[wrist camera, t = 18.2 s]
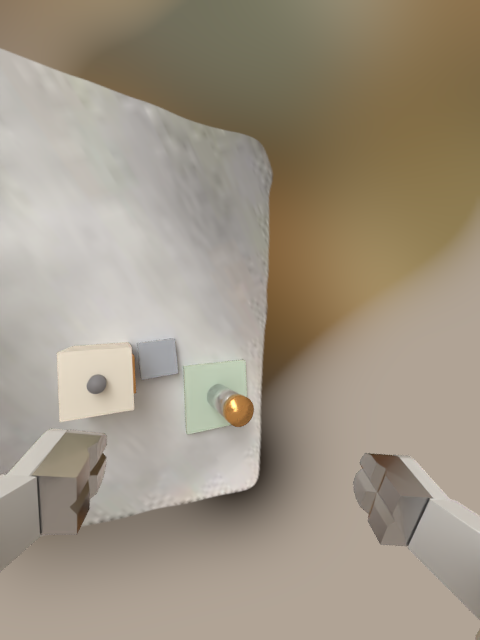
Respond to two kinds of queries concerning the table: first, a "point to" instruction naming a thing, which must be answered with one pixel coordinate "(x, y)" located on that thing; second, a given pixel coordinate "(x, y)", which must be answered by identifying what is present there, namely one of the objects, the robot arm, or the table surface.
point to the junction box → (95, 380)
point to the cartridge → (230, 405)
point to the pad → (198, 385)
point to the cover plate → (157, 358)
